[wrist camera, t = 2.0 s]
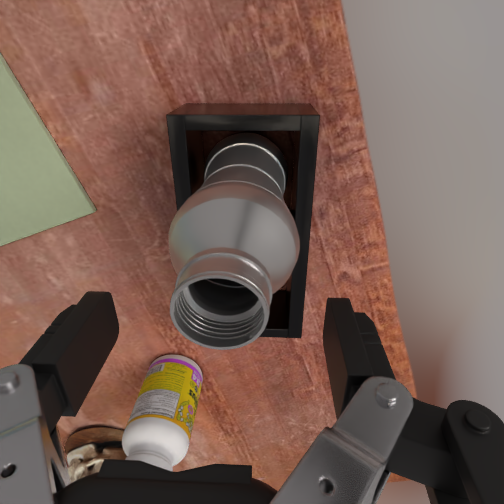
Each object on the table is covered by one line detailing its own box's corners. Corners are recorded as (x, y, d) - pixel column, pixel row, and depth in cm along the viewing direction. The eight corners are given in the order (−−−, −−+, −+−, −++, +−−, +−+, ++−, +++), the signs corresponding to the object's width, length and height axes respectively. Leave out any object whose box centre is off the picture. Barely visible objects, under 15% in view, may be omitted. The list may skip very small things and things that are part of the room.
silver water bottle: (207, 125, 29) (112, 233, 12) (290, 127, 29) (319, 240, 11) (210, 199, 32) (139, 371, 15) (285, 202, 32) (302, 379, 15)
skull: (74, 481, 55) (32, 514, 45) (87, 410, 57) (50, 426, 47) (150, 490, 54) (125, 525, 44) (160, 418, 56) (138, 435, 47)
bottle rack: (185, 103, 28) (165, 114, 23) (311, 103, 28) (320, 114, 23) (202, 296, 38) (191, 335, 32) (297, 298, 37) (301, 338, 32)
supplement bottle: (200, 393, 45) (176, 505, 34) (148, 385, 45) (107, 495, 34) (207, 356, 42) (183, 467, 31) (151, 346, 42) (107, 454, 30)
